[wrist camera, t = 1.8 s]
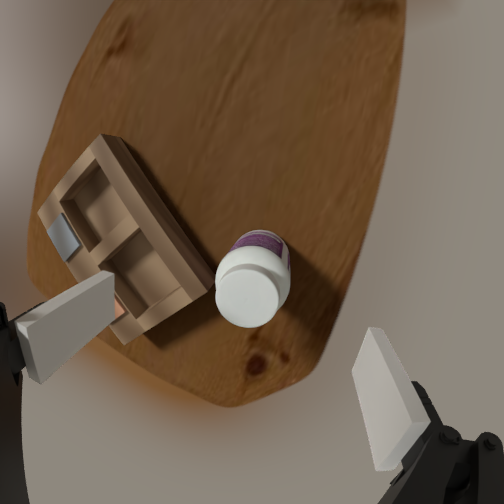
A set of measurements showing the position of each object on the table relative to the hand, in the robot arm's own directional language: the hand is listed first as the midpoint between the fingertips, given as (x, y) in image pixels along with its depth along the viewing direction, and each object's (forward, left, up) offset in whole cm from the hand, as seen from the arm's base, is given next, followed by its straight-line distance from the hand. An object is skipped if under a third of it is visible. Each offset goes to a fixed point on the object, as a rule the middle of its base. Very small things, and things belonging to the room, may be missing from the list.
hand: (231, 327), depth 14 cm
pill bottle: (0, 0, -14) cm, 14 cm away
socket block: (+11, -9, -14) cm, 20 cm away
